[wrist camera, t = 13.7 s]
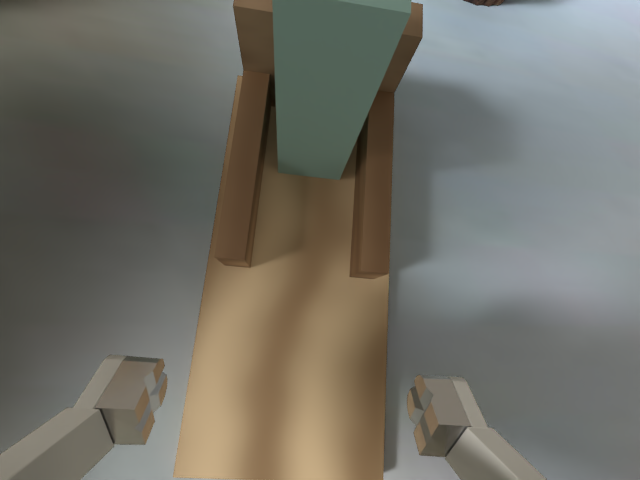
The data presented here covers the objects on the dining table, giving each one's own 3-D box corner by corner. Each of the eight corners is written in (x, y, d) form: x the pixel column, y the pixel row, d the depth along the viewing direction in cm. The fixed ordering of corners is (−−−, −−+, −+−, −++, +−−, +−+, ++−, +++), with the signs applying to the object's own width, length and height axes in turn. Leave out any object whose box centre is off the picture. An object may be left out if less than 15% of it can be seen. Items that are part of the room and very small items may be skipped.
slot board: (179, 467, 17) (93, 596, 9) (239, 85, 23) (217, -33, 15) (377, 474, 18) (448, 596, 10) (389, 107, 24) (442, 7, 16)
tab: (278, 172, 20) (271, -11, 9) (284, 117, 21) (286, -115, 10) (339, 180, 21) (411, 13, 9) (343, 125, 22) (412, -89, 10)
